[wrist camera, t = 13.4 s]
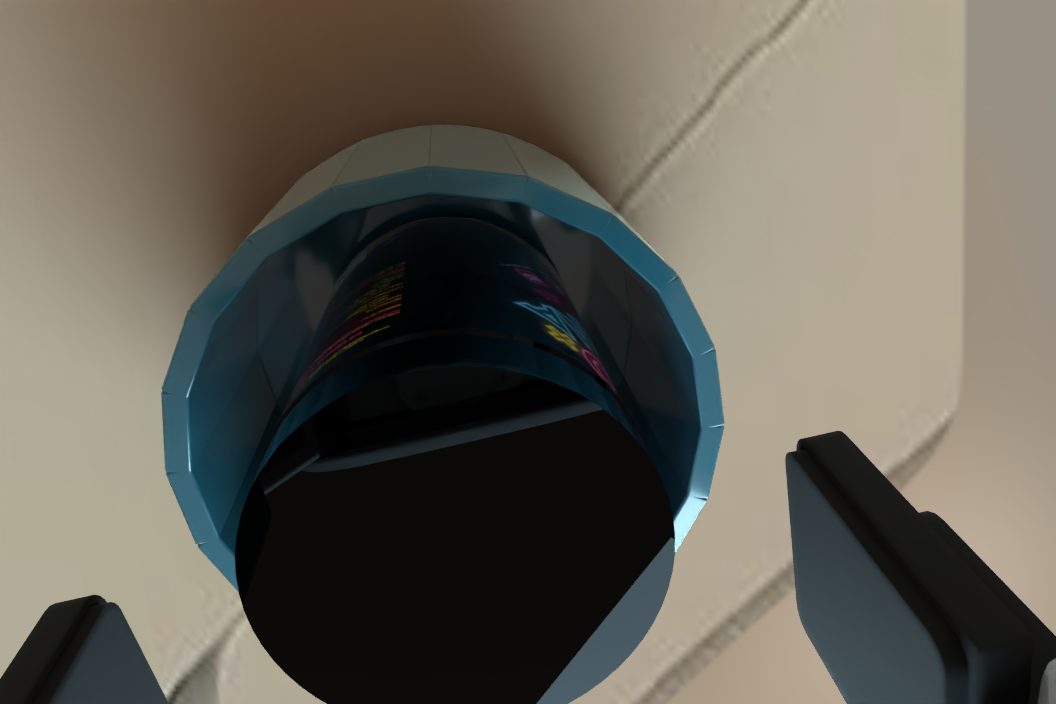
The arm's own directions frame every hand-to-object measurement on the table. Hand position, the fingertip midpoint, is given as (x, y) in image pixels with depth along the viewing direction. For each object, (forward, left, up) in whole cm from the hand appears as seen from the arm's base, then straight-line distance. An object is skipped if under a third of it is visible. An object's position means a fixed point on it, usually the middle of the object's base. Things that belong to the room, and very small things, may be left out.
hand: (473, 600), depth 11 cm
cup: (0, 0, -12) cm, 12 cm away
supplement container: (0, 0, -12) cm, 12 cm away
